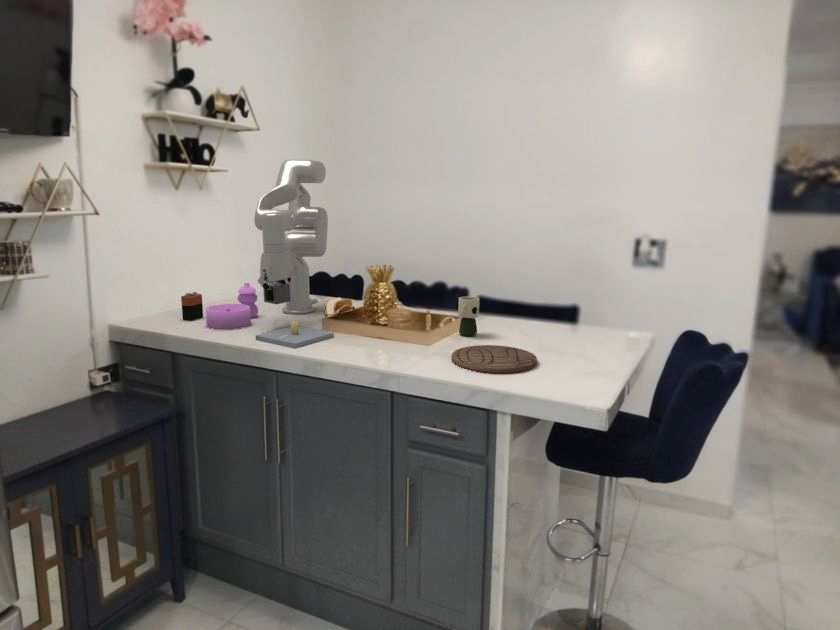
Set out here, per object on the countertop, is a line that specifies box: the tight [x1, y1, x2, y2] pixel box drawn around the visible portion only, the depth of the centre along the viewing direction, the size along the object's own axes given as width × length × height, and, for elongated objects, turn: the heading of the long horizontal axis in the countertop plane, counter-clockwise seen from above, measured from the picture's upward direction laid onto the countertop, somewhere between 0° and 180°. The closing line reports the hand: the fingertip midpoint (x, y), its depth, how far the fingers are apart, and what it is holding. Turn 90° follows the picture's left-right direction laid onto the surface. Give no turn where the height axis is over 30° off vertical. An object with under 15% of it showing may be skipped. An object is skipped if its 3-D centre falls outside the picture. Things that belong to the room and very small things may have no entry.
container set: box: [205, 282, 259, 330], centre depth 224 cm, size 25×15×13 cm, turn 166°
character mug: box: [457, 296, 480, 337], centre depth 208 cm, size 11×7×13 cm, turn 153°
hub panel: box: [255, 321, 335, 349], centre depth 202 cm, size 18×18×6 cm
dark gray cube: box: [263, 281, 290, 305], centre depth 214 cm, size 6×6×6 cm
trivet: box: [451, 344, 538, 375], centre depth 179 cm, size 25×25×2 cm
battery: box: [180, 291, 204, 322], centre depth 228 cm, size 4×7×10 cm, turn 159°
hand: (277, 298), depth 214 cm, fingers closed on dark gray cube, 6 cm apart
